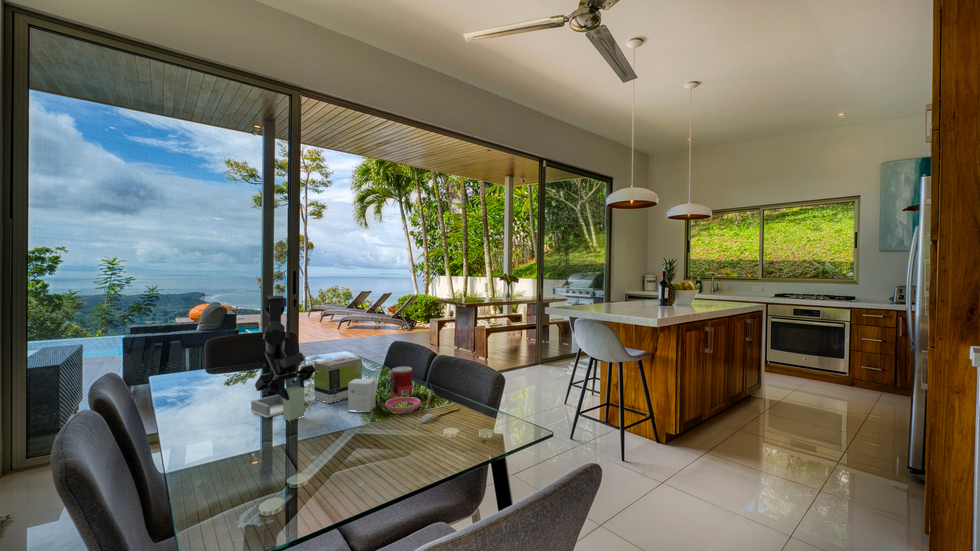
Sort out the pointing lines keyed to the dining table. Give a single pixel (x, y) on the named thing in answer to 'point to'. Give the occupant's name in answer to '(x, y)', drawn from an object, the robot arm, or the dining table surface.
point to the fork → (426, 417)
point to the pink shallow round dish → (400, 400)
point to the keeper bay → (268, 406)
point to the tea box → (335, 377)
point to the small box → (361, 394)
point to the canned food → (401, 381)
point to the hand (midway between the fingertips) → (296, 397)
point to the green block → (294, 403)
